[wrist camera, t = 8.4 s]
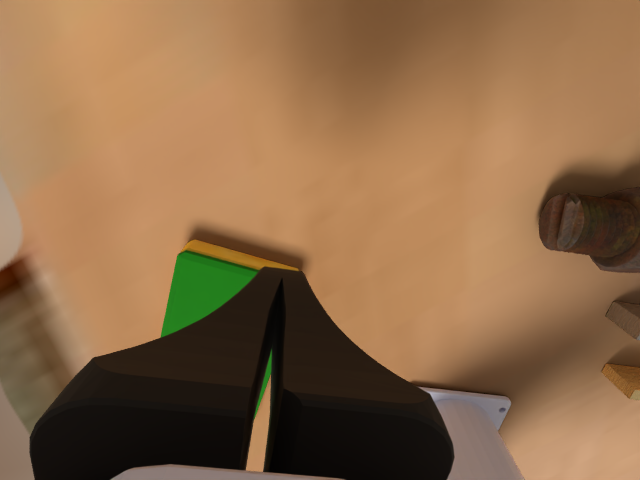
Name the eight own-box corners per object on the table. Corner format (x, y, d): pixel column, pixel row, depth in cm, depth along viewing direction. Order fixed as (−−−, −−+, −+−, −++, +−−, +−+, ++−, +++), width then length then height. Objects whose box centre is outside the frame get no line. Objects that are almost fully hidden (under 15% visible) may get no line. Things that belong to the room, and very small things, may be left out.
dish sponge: (155, 399, 27) (141, 428, 25) (191, 234, 22) (177, 251, 20) (249, 420, 28) (244, 449, 26) (303, 266, 23) (302, 286, 21)
